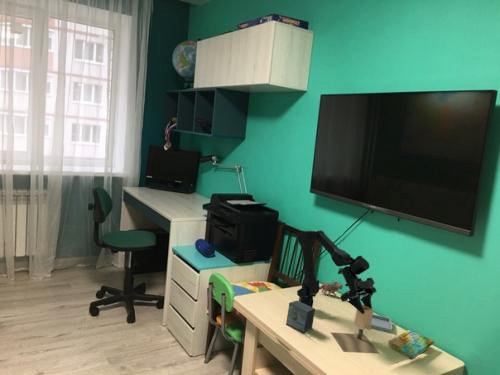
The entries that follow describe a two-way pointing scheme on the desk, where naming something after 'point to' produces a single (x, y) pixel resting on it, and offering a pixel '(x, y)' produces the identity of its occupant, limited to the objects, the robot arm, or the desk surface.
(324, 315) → the desk surface
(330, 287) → the dinosaur figurine
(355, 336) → the walnut stake base
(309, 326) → the small box
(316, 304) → the desk surface
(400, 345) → the puzzle game
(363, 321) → the wooden pen holder
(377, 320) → the grey tray
